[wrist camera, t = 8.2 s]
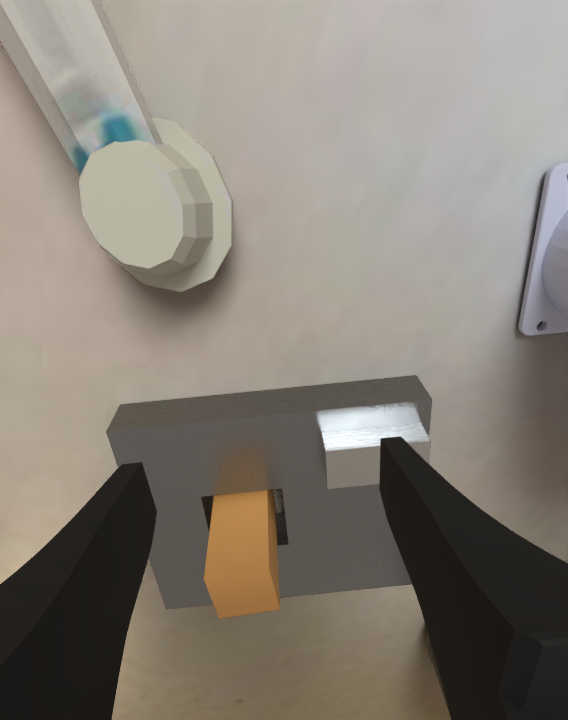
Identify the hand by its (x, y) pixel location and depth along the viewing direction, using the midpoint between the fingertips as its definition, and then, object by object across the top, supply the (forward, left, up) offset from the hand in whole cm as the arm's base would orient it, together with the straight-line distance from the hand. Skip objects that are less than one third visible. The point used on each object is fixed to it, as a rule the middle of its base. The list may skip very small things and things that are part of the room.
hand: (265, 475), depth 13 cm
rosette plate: (0, +10, -10) cm, 14 cm away
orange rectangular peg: (+2, +10, -10) cm, 14 cm away
